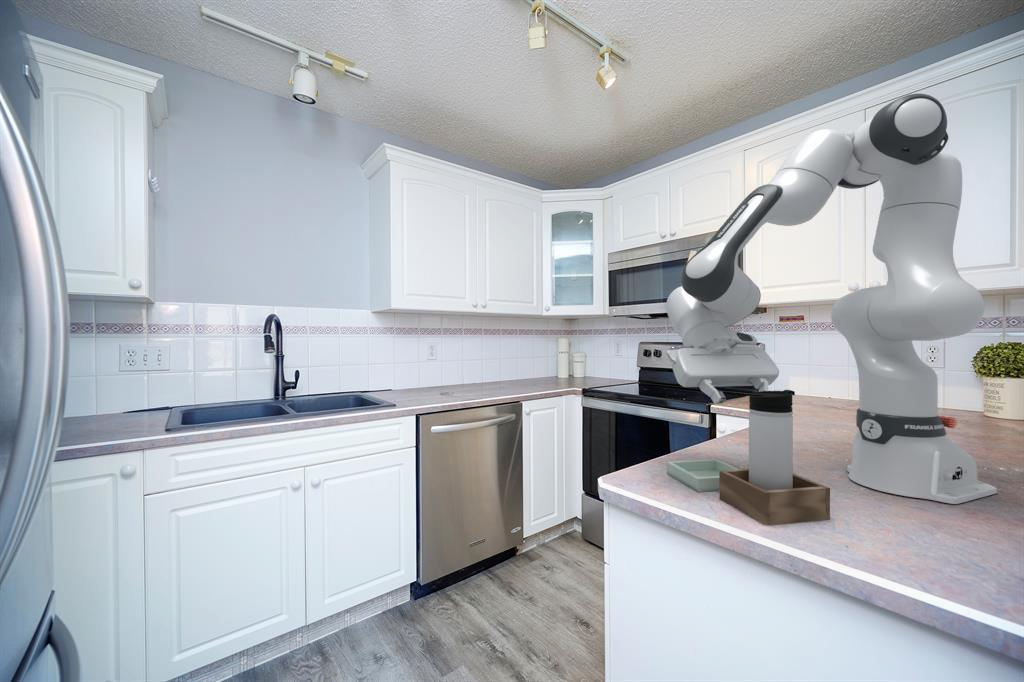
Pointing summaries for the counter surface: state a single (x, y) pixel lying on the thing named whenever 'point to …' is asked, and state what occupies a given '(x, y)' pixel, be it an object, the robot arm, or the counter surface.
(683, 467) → the dock
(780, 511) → the square wooden frame
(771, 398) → the travel mug
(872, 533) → the counter surface
